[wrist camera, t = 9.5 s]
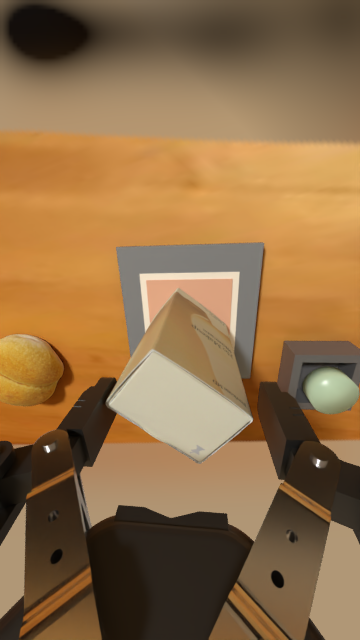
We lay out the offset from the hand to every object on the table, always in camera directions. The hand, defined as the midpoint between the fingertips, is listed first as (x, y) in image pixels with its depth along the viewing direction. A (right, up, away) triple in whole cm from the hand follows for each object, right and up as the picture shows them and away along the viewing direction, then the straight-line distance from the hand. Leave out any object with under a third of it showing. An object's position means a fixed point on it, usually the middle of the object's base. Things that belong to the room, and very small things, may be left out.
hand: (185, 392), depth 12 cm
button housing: (+14, -1, +12) cm, 18 cm away
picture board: (+1, +4, +10) cm, 11 cm away
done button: (+14, -2, +9) cm, 17 cm away
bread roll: (-18, -1, +15) cm, 24 cm away
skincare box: (+1, +4, +10) cm, 11 cm away
